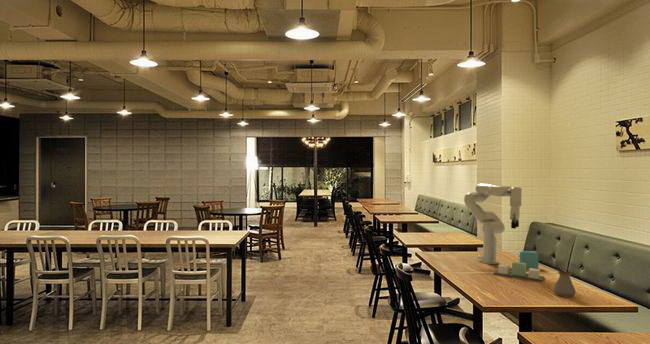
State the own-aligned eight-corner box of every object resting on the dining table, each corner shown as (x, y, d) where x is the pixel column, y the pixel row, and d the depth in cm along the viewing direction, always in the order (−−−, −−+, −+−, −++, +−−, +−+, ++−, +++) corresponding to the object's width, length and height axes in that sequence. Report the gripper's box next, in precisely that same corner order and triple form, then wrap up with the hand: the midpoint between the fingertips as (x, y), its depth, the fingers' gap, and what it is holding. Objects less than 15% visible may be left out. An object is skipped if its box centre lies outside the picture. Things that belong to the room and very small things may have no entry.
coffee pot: (578, 298, 245) (579, 272, 245) (556, 297, 248) (557, 271, 247) (565, 288, 266) (566, 264, 266) (545, 287, 269) (546, 263, 268)
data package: (536, 267, 322) (536, 251, 321) (538, 268, 317) (538, 252, 317) (519, 266, 323) (519, 250, 323) (521, 268, 319) (521, 251, 319)
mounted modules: (498, 272, 298) (498, 265, 298) (500, 271, 303) (500, 263, 303) (538, 278, 284) (538, 271, 283) (539, 276, 289) (540, 269, 289)
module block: (511, 274, 294) (512, 262, 294) (513, 273, 298) (513, 261, 298) (524, 276, 290) (524, 264, 289) (525, 275, 293) (526, 263, 293)
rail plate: (493, 274, 298) (493, 272, 298) (497, 271, 306) (497, 269, 306) (542, 281, 281) (542, 279, 281) (544, 278, 289) (544, 276, 289)
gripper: (512, 203, 323) (511, 225, 324) (507, 204, 309) (506, 228, 309) (523, 203, 319) (522, 226, 319) (518, 205, 305) (518, 229, 305)
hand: (514, 227), depth 314 cm, fingers open, 9 cm apart
